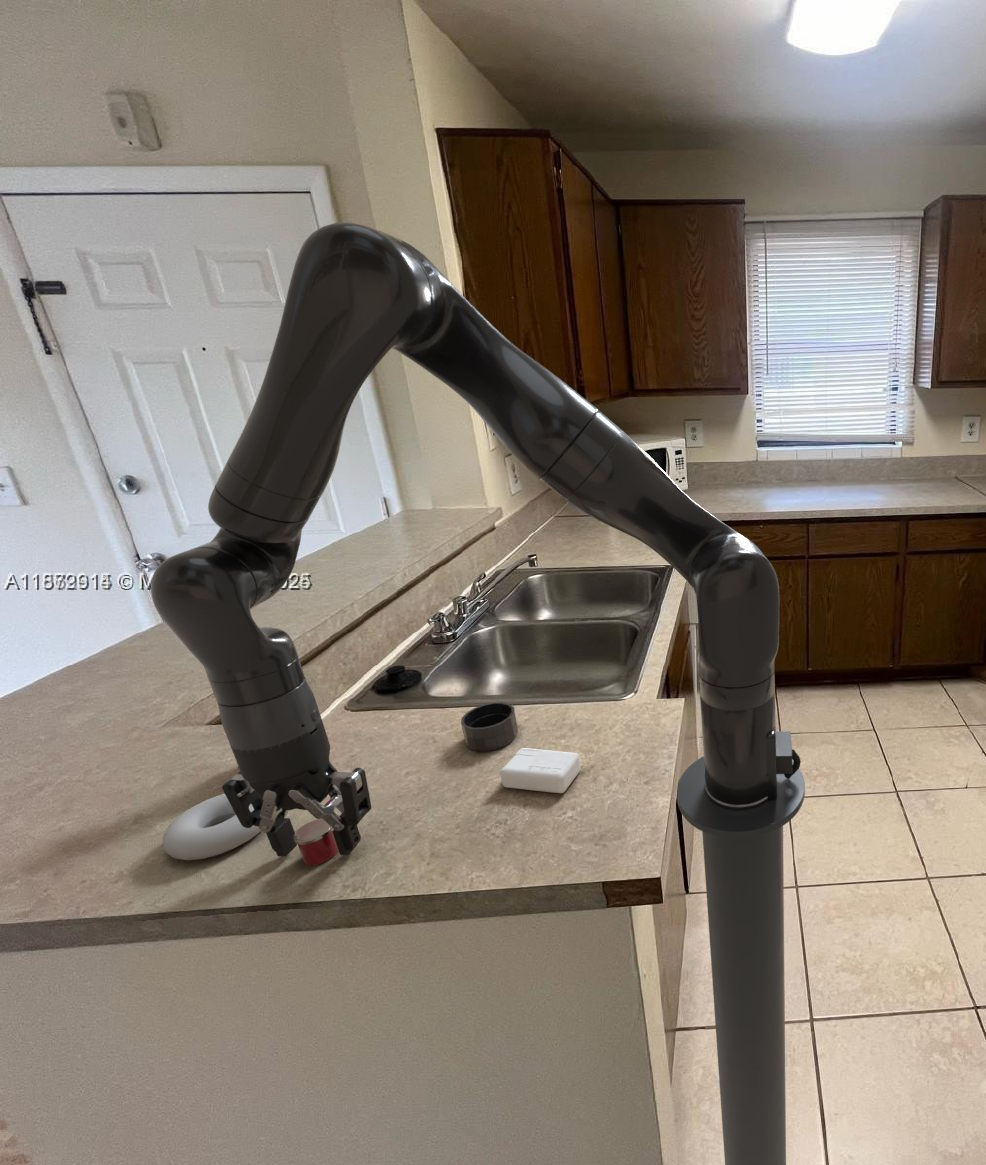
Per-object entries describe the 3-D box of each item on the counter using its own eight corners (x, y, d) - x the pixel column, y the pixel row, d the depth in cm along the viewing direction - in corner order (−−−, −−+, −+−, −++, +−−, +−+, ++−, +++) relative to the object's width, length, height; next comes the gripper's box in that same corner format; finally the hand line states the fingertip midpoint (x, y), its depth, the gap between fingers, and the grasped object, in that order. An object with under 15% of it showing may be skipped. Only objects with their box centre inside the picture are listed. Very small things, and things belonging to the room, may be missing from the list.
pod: (347, 842, 70) (339, 818, 69) (326, 866, 66) (317, 841, 65) (317, 843, 70) (308, 818, 68) (294, 867, 66) (284, 842, 65)
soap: (583, 769, 82) (580, 751, 81) (564, 796, 77) (560, 777, 76) (524, 763, 83) (520, 745, 82) (500, 789, 78) (497, 770, 77)
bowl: (525, 723, 93) (521, 701, 91) (507, 752, 86) (502, 728, 85) (479, 724, 93) (474, 702, 91) (457, 753, 86) (451, 729, 84)
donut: (147, 855, 68) (203, 876, 65) (136, 832, 67) (192, 851, 64) (244, 799, 77) (297, 815, 74) (235, 777, 76) (289, 792, 73)
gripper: (172, 749, 58) (228, 878, 64) (319, 746, 59) (362, 875, 64) (236, 708, 65) (281, 827, 71) (367, 705, 66) (401, 825, 71)
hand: (319, 849), depth 68 cm, fingers open, 6 cm apart
